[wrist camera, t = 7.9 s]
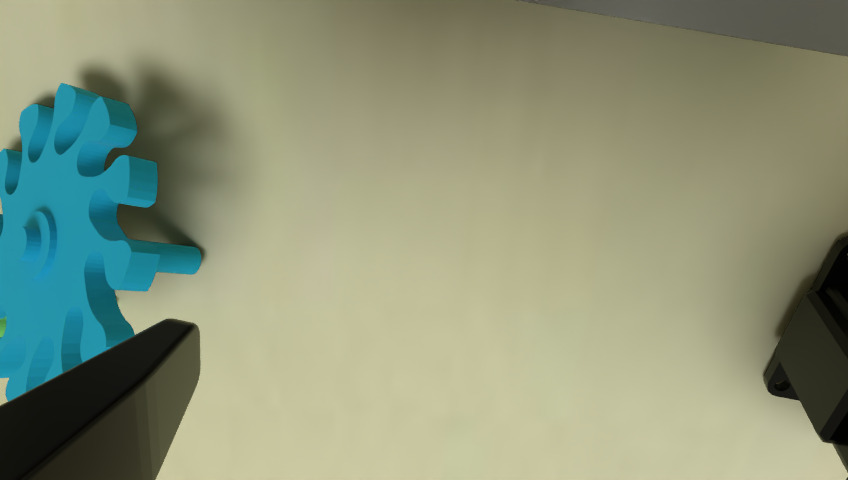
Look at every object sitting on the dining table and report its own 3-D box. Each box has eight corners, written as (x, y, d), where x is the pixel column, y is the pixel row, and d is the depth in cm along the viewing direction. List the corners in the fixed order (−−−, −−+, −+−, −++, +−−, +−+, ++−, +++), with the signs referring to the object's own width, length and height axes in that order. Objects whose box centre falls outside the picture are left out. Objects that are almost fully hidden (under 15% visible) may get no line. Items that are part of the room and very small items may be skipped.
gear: (88, 9, 19) (131, 354, 15) (255, 76, 23) (315, 349, 20) (-68, 184, 24) (-60, 464, 21) (93, 209, 29) (119, 440, 26)
